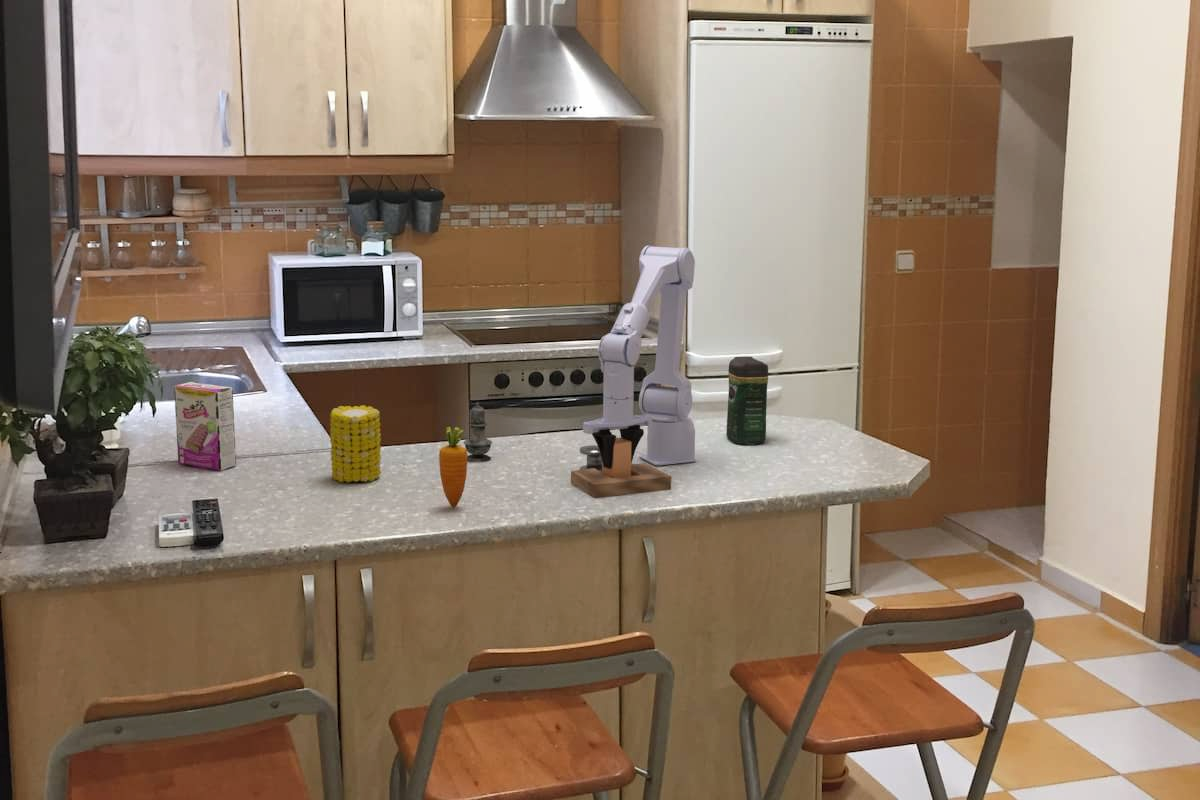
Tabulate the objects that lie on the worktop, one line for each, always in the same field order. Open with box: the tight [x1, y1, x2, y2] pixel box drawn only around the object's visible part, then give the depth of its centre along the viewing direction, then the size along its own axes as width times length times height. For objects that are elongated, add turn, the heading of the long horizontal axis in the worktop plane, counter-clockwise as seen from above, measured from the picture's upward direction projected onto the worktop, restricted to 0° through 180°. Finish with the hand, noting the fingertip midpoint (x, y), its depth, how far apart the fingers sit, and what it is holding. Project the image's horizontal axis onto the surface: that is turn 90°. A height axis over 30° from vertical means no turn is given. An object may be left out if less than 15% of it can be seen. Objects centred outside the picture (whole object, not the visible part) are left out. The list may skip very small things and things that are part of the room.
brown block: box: [602, 436, 631, 478], centre depth 252 cm, size 4×4×7 cm
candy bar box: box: [173, 381, 237, 472], centre depth 261 cm, size 11×5×16 cm, turn 65°
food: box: [329, 405, 382, 483], centre depth 253 cm, size 15×12×10 cm
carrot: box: [438, 426, 468, 509], centre depth 234 cm, size 5×5×15 cm
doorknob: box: [579, 444, 602, 472], centre depth 262 cm, size 6×6×5 cm
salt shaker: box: [463, 401, 493, 463], centre depth 270 cm, size 6×6×12 cm
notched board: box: [570, 462, 672, 499], centre depth 251 cm, size 16×11×2 cm
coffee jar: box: [725, 356, 769, 446], centre depth 288 cm, size 10×8×19 cm
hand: (617, 466), depth 252 cm, fingers closed on brown block, 4 cm apart
